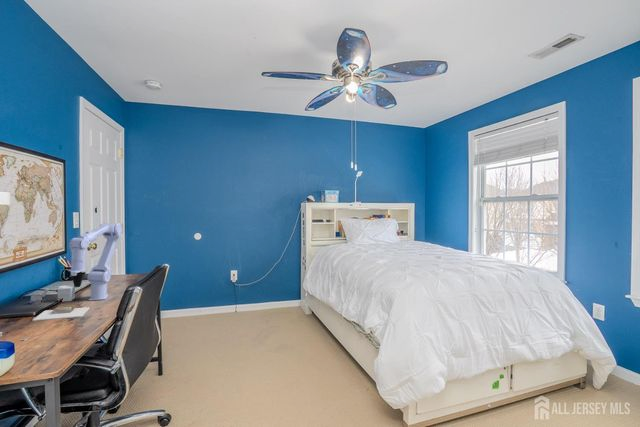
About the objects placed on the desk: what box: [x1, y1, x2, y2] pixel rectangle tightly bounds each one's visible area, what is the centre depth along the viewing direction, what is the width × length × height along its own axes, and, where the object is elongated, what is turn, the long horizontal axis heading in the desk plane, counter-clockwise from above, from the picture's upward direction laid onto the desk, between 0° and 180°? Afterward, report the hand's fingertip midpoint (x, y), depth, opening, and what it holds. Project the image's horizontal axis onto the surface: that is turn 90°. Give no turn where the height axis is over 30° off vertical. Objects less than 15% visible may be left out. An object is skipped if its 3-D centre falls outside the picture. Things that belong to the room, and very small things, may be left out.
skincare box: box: [57, 285, 76, 302], centre depth 169 cm, size 6×6×7 cm
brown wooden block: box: [54, 302, 77, 314], centre depth 151 cm, size 2×6×8 cm
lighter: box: [30, 287, 50, 302], centre depth 161 cm, size 7×2×8 cm, turn 117°
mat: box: [31, 306, 90, 322], centre depth 147 cm, size 14×18×1 cm
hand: (77, 286), depth 159 cm, fingers closed
